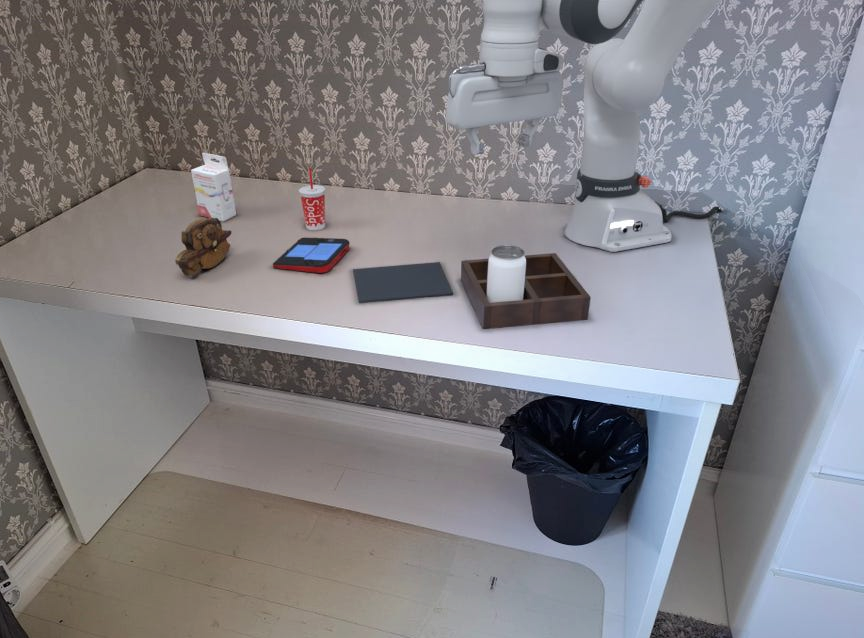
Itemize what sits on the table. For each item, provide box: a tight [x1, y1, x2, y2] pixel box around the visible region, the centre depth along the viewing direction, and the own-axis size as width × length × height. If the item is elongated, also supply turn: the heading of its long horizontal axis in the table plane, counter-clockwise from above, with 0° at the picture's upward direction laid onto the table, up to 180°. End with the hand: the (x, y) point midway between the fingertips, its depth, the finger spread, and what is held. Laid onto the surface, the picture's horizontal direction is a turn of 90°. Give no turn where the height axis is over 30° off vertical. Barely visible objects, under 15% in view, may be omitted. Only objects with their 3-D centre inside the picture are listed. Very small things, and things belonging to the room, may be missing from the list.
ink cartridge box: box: [190, 152, 237, 222], centre depth 165 cm, size 9×5×15 cm, turn 58°
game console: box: [272, 237, 351, 274], centre depth 145 cm, size 14×13×2 cm
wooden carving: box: [175, 217, 232, 276], centre depth 141 cm, size 16×5×10 cm, turn 160°
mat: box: [352, 261, 454, 304], centre depth 134 cm, size 18×14×1 cm
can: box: [486, 244, 526, 303], centre depth 119 cm, size 6×6×12 cm
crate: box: [460, 252, 592, 330], centre depth 125 cm, size 19×19×4 cm
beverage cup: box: [298, 167, 326, 231], centre depth 157 cm, size 6×6×14 cm
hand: (501, 149), depth 113 cm, fingers open, 8 cm apart
